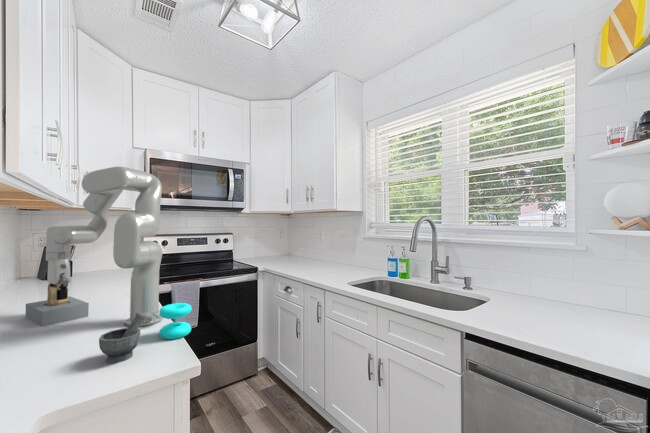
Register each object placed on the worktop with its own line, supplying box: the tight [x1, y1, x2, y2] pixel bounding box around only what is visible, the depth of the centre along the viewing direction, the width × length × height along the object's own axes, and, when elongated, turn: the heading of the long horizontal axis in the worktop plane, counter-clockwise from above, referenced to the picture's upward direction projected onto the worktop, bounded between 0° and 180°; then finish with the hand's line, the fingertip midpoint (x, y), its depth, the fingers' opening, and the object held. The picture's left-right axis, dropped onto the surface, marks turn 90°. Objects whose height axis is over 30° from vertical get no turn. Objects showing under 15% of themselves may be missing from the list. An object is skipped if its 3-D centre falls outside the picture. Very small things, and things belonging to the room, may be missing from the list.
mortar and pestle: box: [98, 313, 146, 364], centre depth 84 cm, size 11×9×12 cm
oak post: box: [46, 285, 69, 307], centre depth 119 cm, size 5×5×12 cm
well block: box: [25, 295, 90, 328], centre depth 119 cm, size 20×14×6 cm
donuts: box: [158, 302, 192, 340], centre depth 101 cm, size 10×10×10 cm
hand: (57, 297), depth 119 cm, fingers open, 9 cm apart
